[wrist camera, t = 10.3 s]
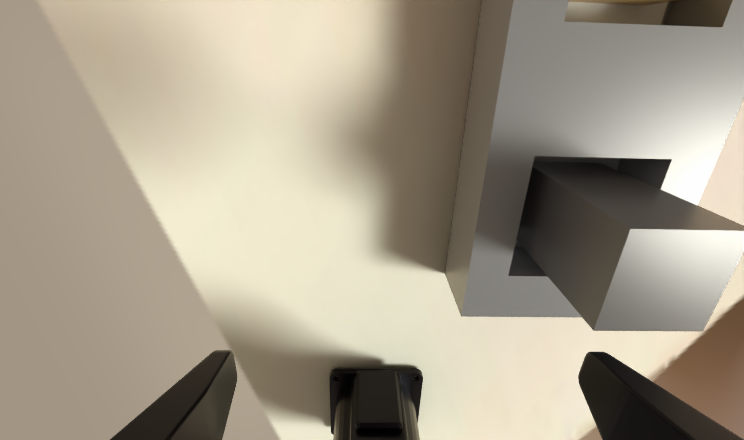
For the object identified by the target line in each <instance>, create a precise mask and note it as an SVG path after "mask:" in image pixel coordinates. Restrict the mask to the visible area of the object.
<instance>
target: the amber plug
mask: <svg viewBox="0 0 744 440" xmlns="http://www.w3.org/2000/svg"><path fill="white" fill-rule="evenodd" d="M670 1H675V0H569V2H585V3H606V4H627V5H653V4H659V3H664V2H670Z"/></svg>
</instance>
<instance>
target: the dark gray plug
mask: <svg viewBox="0 0 744 440" xmlns="http://www.w3.org/2000/svg"><path fill="white" fill-rule="evenodd" d="M516 240H517V241H518V242H519V243H520V244H521V246H522V247H523V248H524V249H525V250H526V252H527V253H528V254H529V255H530V256H531V257H532V259H533V260H534V261H535V262H536V263H537V264H538V266H539V267H540V268H541V269H542V270H543V272H544V273H545V274H546V275H547V276H548V277H549V279H550V280H551V281H552V282H553V283H554V284H555V286H556V287H557V288H558V289H559V290H560V292H561V293H562V294H563V295H564V296H565V297H566V299H567V300H568V301H569V302H570V303H571V304H572V306H573V307H574V308H575V309H576V310H577V312H578V313H579V314H580V315H581V316H582V317H583V319H584V320H585V321H586V322H587V323H588V324H589V326H590V327H591V328H592V329H593V330H594V331H703V330H704V328H705V326H706V324H707V322H708V320H709V318H710V317H711V315H712V313H713V311H714V309H715V307H716V305H717V303H718V301H719V299H720V297H721V295H722V294H723V292H724V290H725V288H726V286H727V284H728V282H729V280H730V278H731V276H732V274H733V273H734V271H735V269H736V267H737V265H738V263H739V261H740V259H741V257H742V255H743V253H744V226H743V225H740V224H738V223H736V222H734V221H731V220H729V219H727V218H724V217H722V216H720V215H718V214H715V213H713V212H711V211H709V210H706V209H704V208H702V207H699V206H697V205H695V204H693V203H690V202H688V201H686V200H683V199H681V198H679V197H677V196H674V195H672V194H670V193H668V192H665V191H663V190H661V189H658V188H656V187H654V186H652V185H649V184H647V183H645V182H642V181H640V180H638V179H636V178H633V177H631V176H629V175H627V174H624V173H622V172H620V171H617V170H615V169H613V168H611V167H608V166H606V165H604V164H601V163H581V162H538V161H533V166H532V170H531V175H530V179H529V184H528V188H527V193H526V198H525V202H524V207H523V211H522V216H521V220H520V225H519V229H518V234H517V238H516Z"/></svg>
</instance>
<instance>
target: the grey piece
mask: <svg viewBox="0 0 744 440" xmlns="http://www.w3.org/2000/svg"><path fill="white" fill-rule="evenodd" d="M743 100H744V0H675V1H670V2H664V3H659V4H653V5H627V4H606V3H585V2H569V0H482V2H481V10H480V17H479V25H478V32H477V40H476V47H475V55H474V62H473V69H472V77H471V84H470V92H469V99H468V107H467V114H466V122H465V129H464V137H463V144H462V152H461V159H460V167H459V174H458V181H457V189H456V196H455V204H454V211H453V219H452V226H451V234H450V241H449V249H448V256H447V264H446V271H445V275H446V278H447V280H448V283H449V285H450V288H451V291H452V293H453V296H454V299H455V301H456V304H457V306H458V309H459V312H460V314H461V316H486V317H582V316H581V315H580V314H579V313H578V312H577V310H576V309H575V308H574V307H573V306H572V304H571V303H570V302H569V301H568V300H567V299H566V297H565V296H564V295H563V294H562V293H561V292H560V290H559V289H558V288H557V287H556V286H555V284H554V283H553V282H552V281H551V280H550V279H549V277H548V276H547V275H546V274H545V273H544V272H543V270H542V269H541V268H540V267H539V266H538V264H537V263H536V262H535V261H534V260H533V259H532V257H531V256H530V255H529V254H528V253H527V252H526V250H525V249H524V248H523V247H522V246H521V244H520V243H519V242H518V241H517V240H516V238H517V234H518V229H519V225H520V220H521V216H522V211H523V207H524V202H525V198H526V193H527V188H528V184H529V179H530V175H531V170H532V166H533V161H538V162H581V163H601V164H604V165H606V166H608V167H611V168H613V169H615V170H617V171H620V172H622V173H624V174H627V175H629V176H631V177H633V178H636V179H638V180H640V181H642V182H645V183H647V184H649V185H652V186H654V187H656V188H658V189H661V190H663V191H665V192H668V193H670V194H672V195H674V196H677V197H679V198H681V199H683V200H686V201H688V202H690V203H693V204H695V205H698V203H699V201H700V198H701V196H702V194H703V192H704V189H705V187H706V185H707V182H708V180H709V178H710V175H711V173H712V171H713V169H714V166H715V164H716V162H717V159H718V157H719V155H720V152H721V150H722V148H723V146H724V143H725V141H726V139H727V136H728V134H729V132H730V129H731V127H732V125H733V123H734V120H735V118H736V116H737V113H738V111H739V109H740V106H741V104H742V102H743Z"/></svg>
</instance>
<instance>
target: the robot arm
mask: <svg viewBox="0 0 744 440" xmlns="http://www.w3.org/2000/svg"><path fill="white" fill-rule="evenodd" d="M337 376H338V377H337ZM414 376H416V377H414ZM578 379H579V384H580V387H581V389H582V392H583V394H584V397H585V399H586V401H587V404H588V406H589V409H590V411H591V413H592V416H593V418H594V421H595V423H596V425H597V428H598V430H599V432H600V435H601V437H602V439H603V440H744V439H742V438H741V437H739V436H737V435H736V434H734V433H733V432H731V431H729V430H728V429H726V428H725V427H723V426H722V425H720V424H718V423H717V422H715V421H714V420H712V419H710V418H709V417H707V416H705V415H704V414H703V413H701V412H699V411H698V410H696V409H695V408H693V407H691V406H690V405H688V404H687V403H685V402H684V401H682V400H680V399H679V398H677V397H676V396H674V395H672V394H671V393H669V392H668V391H666V390H665V389H663V388H661V387H660V386H658V385H657V384H655V383H653V382H652V381H650V380H649V379H647V378H646V377H644V376H642V375H641V374H639V373H638V372H636V371H635V370H633V369H631V368H630V367H628V366H627V365H625V364H623V363H622V362H620V361H619V360H617V359H616V358H614V357H612V356H611V355H609V354H607V353H605V352H588V353H587V354H586V356H585V358H584V361H583V364H582V367H581V369H580V372H579V377H578ZM236 382H237V372H236V366H235V360H234V355H233V352H232V351H230V350H216V351H214V352H212V353H211V354H210V355H209V356H208V357H206V358H205V359H204V360H203V361H202V362H200V363H199V364H198V365H197V366H196V367H195V368H193V369H192V370H191V371H190V372H189V373H188V374H186V375H185V376H184V377H183V378H182V379H181V380H179V381H178V382H177V383H176V384H175V385H173V386H172V387H171V388H170V389H169V390H168V391H166V392H165V393H164V394H163V395H162V396H161V397H159V398H158V399H157V400H156V401H155V402H154V403H152V404H151V405H150V406H149V407H148V408H147V409H145V410H144V411H143V412H142V413H141V414H140V415H138V416H137V417H136V418H135V419H134V420H133V421H131V422H130V423H129V424H128V425H127V426H125V427H124V428H123V429H122V430H121V431H120V432H118V433H117V434H116V435H115V436H114V437H113V438H112V439H110V440H222V438H223V434H224V430H225V426H226V422H227V418H228V414H229V410H230V406H231V403H232V398H233V395H234V391H235V387H236ZM422 382H423V376H422V372H421V371H420V370H419V369H334V370H332V371H331V373H330V409H331V433H332V434H333V435H334V438H333V440H420V438H419V431H418V424H417V423H418V415H419V407H420V398H421V390H422Z"/></svg>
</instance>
